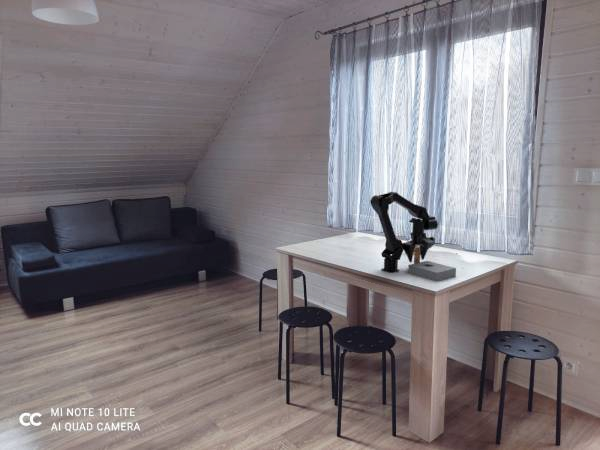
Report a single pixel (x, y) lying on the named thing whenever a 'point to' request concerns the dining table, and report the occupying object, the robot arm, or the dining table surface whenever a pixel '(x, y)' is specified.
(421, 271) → the hole block
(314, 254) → the dining table surface
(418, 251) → the terracotta peg
